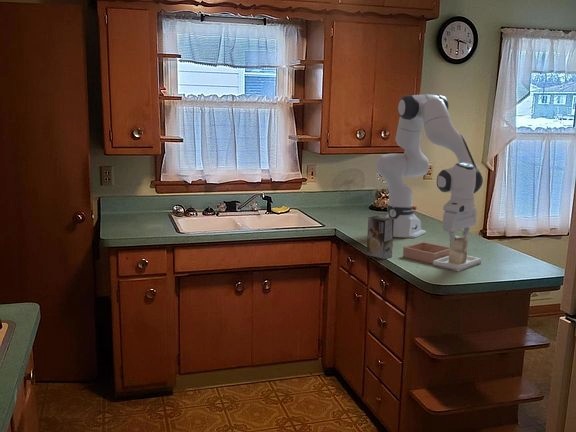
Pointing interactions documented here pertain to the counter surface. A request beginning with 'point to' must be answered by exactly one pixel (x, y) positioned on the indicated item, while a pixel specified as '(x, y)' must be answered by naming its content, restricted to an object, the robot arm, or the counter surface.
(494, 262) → the counter surface
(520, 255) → the counter surface
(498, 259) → the counter surface
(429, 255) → the terracotta square frame
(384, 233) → the coffee box
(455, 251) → the maple block
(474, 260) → the white tray
